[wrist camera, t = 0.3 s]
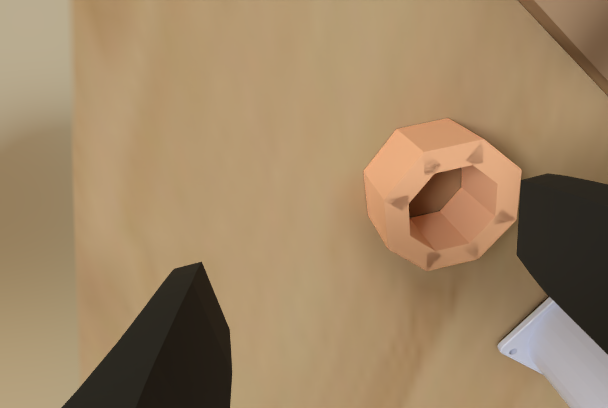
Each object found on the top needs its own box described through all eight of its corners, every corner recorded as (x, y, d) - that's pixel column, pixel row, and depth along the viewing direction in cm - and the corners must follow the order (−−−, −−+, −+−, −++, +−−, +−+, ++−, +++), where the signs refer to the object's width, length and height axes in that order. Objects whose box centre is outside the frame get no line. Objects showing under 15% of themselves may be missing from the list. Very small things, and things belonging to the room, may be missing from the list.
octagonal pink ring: (504, 163, 20) (546, 189, 17) (425, 249, 21) (452, 285, 19) (421, 96, 17) (454, 115, 15) (341, 199, 19) (357, 231, 17)
